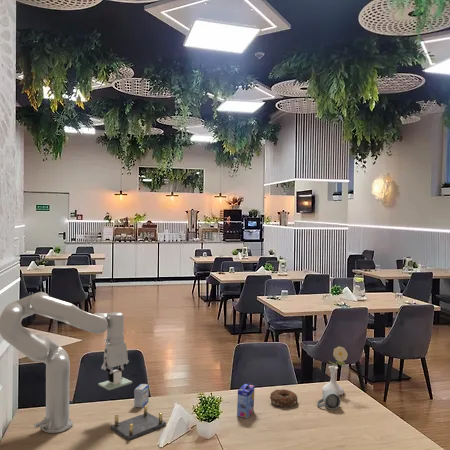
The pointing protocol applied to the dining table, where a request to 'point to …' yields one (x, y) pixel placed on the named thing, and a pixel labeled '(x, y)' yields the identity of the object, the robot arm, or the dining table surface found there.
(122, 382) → the sage board
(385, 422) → the dining table surface
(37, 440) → the dining table surface
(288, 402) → the donut
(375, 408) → the dining table surface
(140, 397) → the medicine box
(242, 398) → the ink cartridge box
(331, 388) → the flower in vase
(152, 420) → the chassis plate
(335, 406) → the ceramic mug
